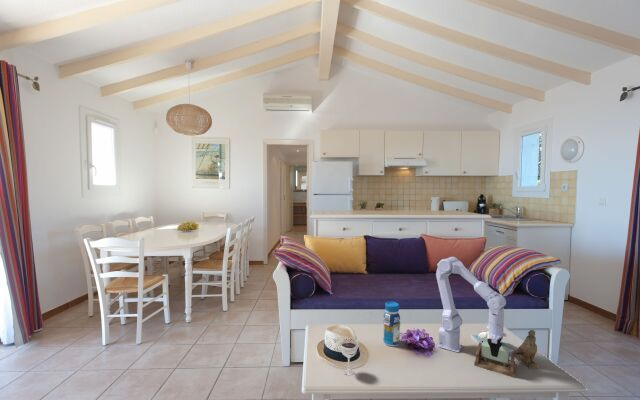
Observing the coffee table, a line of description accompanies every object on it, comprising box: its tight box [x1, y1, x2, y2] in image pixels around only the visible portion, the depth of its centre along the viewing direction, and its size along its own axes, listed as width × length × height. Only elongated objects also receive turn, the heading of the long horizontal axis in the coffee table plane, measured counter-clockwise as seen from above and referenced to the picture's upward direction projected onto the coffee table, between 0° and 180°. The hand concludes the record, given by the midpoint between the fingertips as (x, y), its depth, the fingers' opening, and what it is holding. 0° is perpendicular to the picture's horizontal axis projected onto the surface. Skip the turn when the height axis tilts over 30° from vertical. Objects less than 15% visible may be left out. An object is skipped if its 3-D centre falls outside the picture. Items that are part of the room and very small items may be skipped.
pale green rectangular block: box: [481, 341, 510, 364], centre depth 134 cm, size 10×4×5 cm, turn 56°
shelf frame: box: [473, 341, 516, 378], centre depth 134 cm, size 15×12×6 cm
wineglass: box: [340, 339, 358, 376], centre depth 128 cm, size 7×7×12 cm
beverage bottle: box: [382, 301, 401, 347], centre depth 153 cm, size 8×8×20 cm
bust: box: [477, 325, 504, 341], centre depth 152 cm, size 12×8×11 cm
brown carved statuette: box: [513, 329, 539, 370], centre depth 136 cm, size 12×6×18 cm, turn 176°
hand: (495, 352), depth 134 cm, fingers open, 7 cm apart
